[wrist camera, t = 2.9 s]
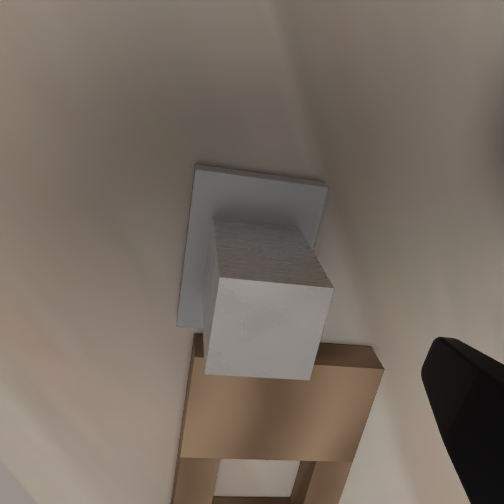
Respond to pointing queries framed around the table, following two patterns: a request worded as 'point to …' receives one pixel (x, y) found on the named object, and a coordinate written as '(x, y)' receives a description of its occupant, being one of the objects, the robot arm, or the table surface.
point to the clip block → (262, 301)
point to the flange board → (277, 424)
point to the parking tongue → (241, 207)
